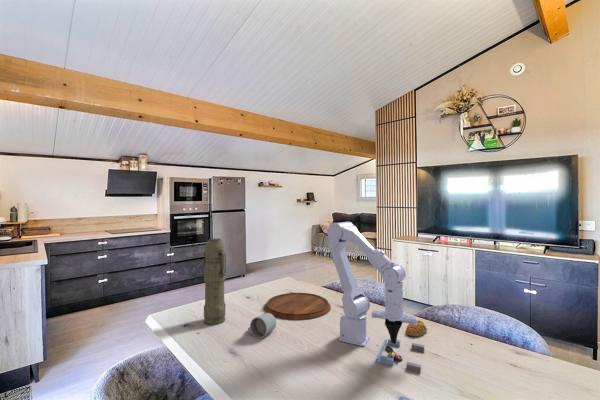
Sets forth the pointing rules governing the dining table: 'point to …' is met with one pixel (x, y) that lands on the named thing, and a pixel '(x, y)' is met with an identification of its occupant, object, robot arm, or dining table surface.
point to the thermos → (214, 282)
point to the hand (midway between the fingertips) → (393, 342)
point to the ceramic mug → (262, 325)
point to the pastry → (416, 329)
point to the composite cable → (393, 354)
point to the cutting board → (297, 306)
